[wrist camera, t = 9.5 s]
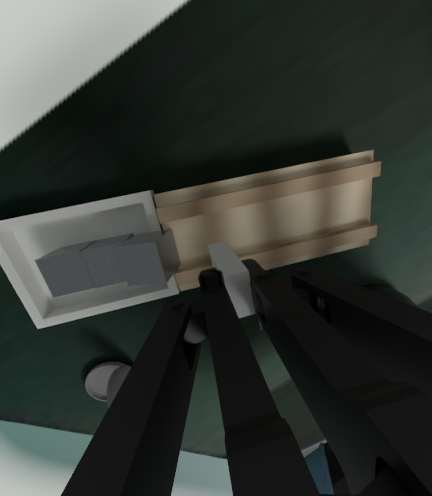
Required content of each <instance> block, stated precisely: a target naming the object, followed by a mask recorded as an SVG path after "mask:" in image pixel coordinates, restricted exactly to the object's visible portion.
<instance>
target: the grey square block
mask: <svg viewBox="0 0 432 496" xmlns="http://www.w3.org/2000/svg"><path fill="white" fill-rule="evenodd" d="M133 236H134V235H133V233H130V234H125V235H120V236H115V237H111V238H106V239H101V240H97V241H95V242H94V243H92V244H91V245H89V246H88V247H86V248H85V249H83V250H81V251H80V252H81V255H82V257H83V260H84V262H85V264H86V267H87V269H88V271H89V274H90V276H91V278H92V281H93V283H94V286H95V288H100V287H104V286H109V285H113V284H117V283H121V282H126V278H125V275H124V272H123V270H122V267H121V264H120V261H119V259H118V256H117V253H116V251H115V248H114V247H115V246H117V245H119V244H121V243H122V242H124V241H126V240H128V239H130V238H131V237H133Z"/></svg>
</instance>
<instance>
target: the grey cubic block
mask: <svg viewBox="0 0 432 496" xmlns="http://www.w3.org/2000/svg"><path fill="white" fill-rule="evenodd" d="M95 241H97V240H93V241H89V242H84V243H79V244H74V245H70V246H65V247H60V248H58V249H56V250H54V251H52V252H50V253H48V254H46V255H44V256H42V257H40V258H38V259H36V260H35V262H36V264H37V266H38V268H39V270H40V272H41V274H42V276H43V278H44V280H45V282H46V284H47V286H48V288H49V290H50V292H51V294H52V296H53V298H54V297H58V296H62V295H67V294H71V293H75V292H80V291H84V290H88V289H92V288H95V286H94V283H93V281H92V278H91V276H90V274H89V271H88V269H87V267H86V264H85V262H84V260H83V257H82V255H81V252H80V251H81V250H83V249H85V248H86V247H88V246H89V245H91V244H92V243H94V242H95Z"/></svg>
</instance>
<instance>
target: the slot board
mask: <svg viewBox="0 0 432 496" xmlns="http://www.w3.org/2000/svg"><path fill="white" fill-rule="evenodd" d="M373 151H374V150H370V151H365V152H359V153H354V154H349V155H344V156H339V157H334V158H329V159H324V160H319V161H314V162H310V163H305V164H300V165H295V166H290V167H285V168H280V169H275V170H271V171H266V172H261V173H256V174H251V175H246V176H241V177H236V178H231V179H227V180H222V181H217V182H212V183H207V184H202V185H197V186H192V187H188V188H183V189H178V190H173V191H168V192H163V193H158V194H155V195H154V199H155V202H156V206H157V208H156V211H157V215H158V218H159V222H160V224H162V227H163V230H169V229H172V232H173V236H174V239H175V243H176V247H177V251H178V255H179V258H180V262H181V265H180V266H179V268H178V269H177V270H176V272H175V273H174V274H175V278H176V281H177V285H178V286H179V287H180V291H185V290H189V289H193V288H197V287H200V284H199V280H198V276H199V274H200V272H201V271H202V270H206V269H210V268H213V266H212V261H211V256H210V252H209V247H208V245H210V244H214V243H219V242H223V241H226V242H227V244H228V245H229V246H230V247H231V249H232V250H233V251H234V253H235V254H236V255H237V256H238V258H239V259H240V260H246V259H253V260H255V261H256V262H257V263H258V264H259V265H260V266H261V267H262V268H263V269H264V270H269V269H273V268H277V267H281V266H285V265H289V264H293V263H297V262H301V261H305V260H309V259H313V258H317V257H321V256H325V255H329V254H333V253H337V252H341V251H345V250H349V249H353V248H357V247H361V246H365V245H369V239H370V238H374V237H377V225H376V224H371V223H370V211H371V191H372V178H373V177H377V176H380V172H381V161H378V162H373Z"/></svg>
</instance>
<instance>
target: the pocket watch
mask: <svg viewBox="0 0 432 496" xmlns="http://www.w3.org/2000/svg"><path fill="white" fill-rule="evenodd" d="M130 369H131V366H128V365H127V364H124V363H121V362H106V363H102V364H100V365H98V366H96V367H94V368H93V369H92V370H91V371H90V372H89V374H88V376H87V378H86V380H85V387H86V391H87V392H88V393H89V394H90V395H91V396H92V397H93V398H95V399H97V400H101V401H106V402H107V404H108V408H109V407H110V405H111V403H112V401H113V400H114V398H115V396H116V394H117V392H118V390H119V389H120V387H121V385H122V383H123V381H124V380H125V378H126V376H127V374H128V372H129V370H130Z"/></svg>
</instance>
